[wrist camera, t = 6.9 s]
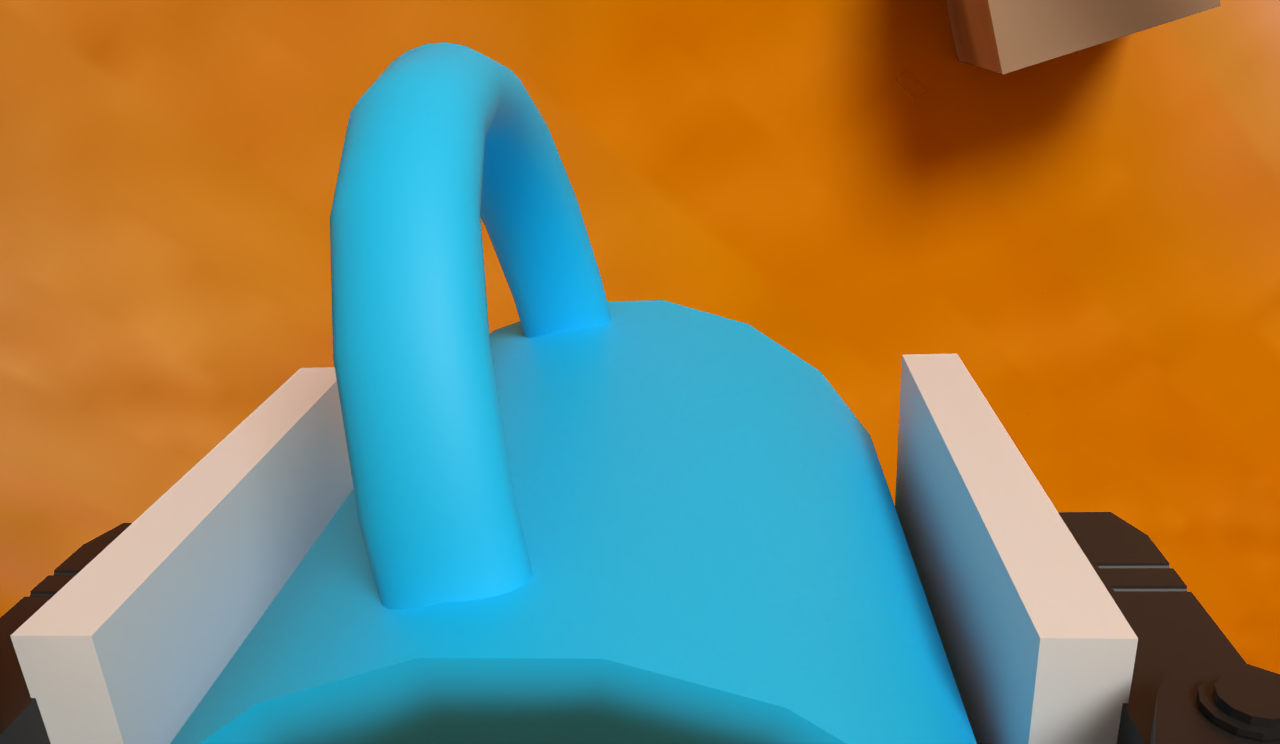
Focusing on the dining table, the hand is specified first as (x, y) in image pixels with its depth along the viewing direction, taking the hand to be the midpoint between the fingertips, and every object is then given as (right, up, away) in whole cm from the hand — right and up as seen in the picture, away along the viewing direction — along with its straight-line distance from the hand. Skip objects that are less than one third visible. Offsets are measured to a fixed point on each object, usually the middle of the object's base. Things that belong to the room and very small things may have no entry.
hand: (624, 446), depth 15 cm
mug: (0, 0, 0) cm, 1 cm away
